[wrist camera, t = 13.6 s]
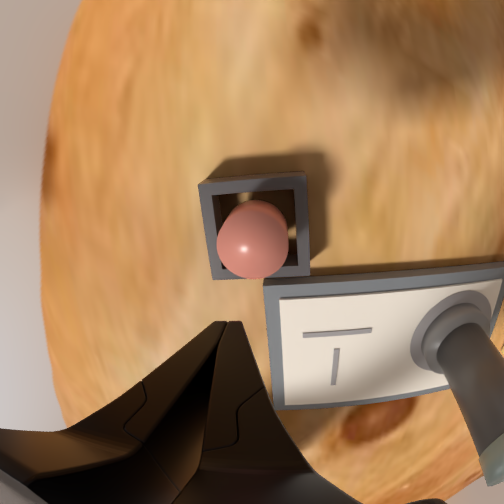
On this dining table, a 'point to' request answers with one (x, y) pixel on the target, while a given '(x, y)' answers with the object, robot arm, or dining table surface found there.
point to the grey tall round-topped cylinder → (472, 379)
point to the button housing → (253, 183)
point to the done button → (253, 240)
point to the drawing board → (365, 332)
